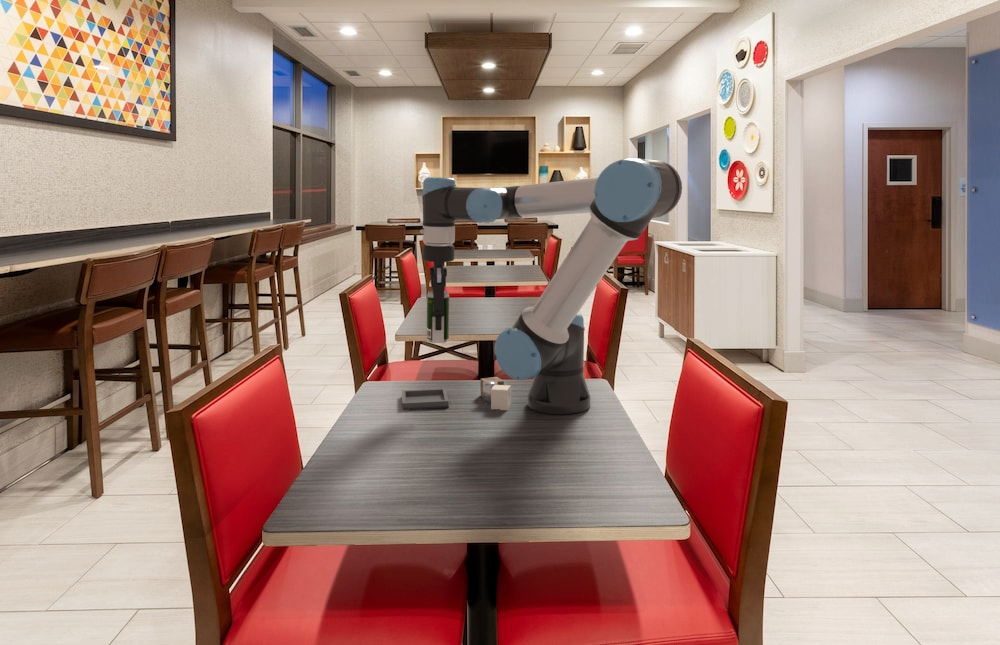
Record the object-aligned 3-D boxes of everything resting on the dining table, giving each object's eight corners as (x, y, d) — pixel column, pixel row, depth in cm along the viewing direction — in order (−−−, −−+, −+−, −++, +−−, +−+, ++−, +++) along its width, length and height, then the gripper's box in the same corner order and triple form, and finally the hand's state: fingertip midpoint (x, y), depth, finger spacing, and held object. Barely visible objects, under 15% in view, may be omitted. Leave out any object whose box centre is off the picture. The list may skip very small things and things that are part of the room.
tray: (445, 394, 181) (445, 388, 180) (448, 407, 170) (448, 400, 170) (402, 396, 179) (402, 390, 179) (402, 409, 169) (402, 403, 168)
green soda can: (435, 344, 168) (436, 294, 165) (422, 340, 171) (422, 291, 169) (453, 341, 171) (454, 292, 169) (439, 337, 175) (440, 289, 172)
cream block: (510, 405, 171) (510, 385, 170) (507, 410, 167) (507, 390, 167) (494, 404, 172) (494, 384, 171) (491, 409, 168) (490, 389, 167)
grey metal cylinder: (496, 399, 176) (496, 380, 175) (498, 403, 172) (498, 384, 171) (482, 400, 175) (482, 381, 174) (484, 404, 172) (483, 384, 171)
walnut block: (496, 393, 181) (496, 376, 180) (503, 398, 177) (503, 381, 176) (480, 395, 180) (480, 378, 179) (487, 400, 176) (487, 383, 175)
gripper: (422, 239, 175) (421, 331, 180) (422, 248, 157) (422, 349, 162) (452, 240, 176) (451, 331, 181) (456, 248, 158) (455, 349, 163)
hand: (437, 339), depth 171 cm, fingers closed on green soda can, 5 cm apart
